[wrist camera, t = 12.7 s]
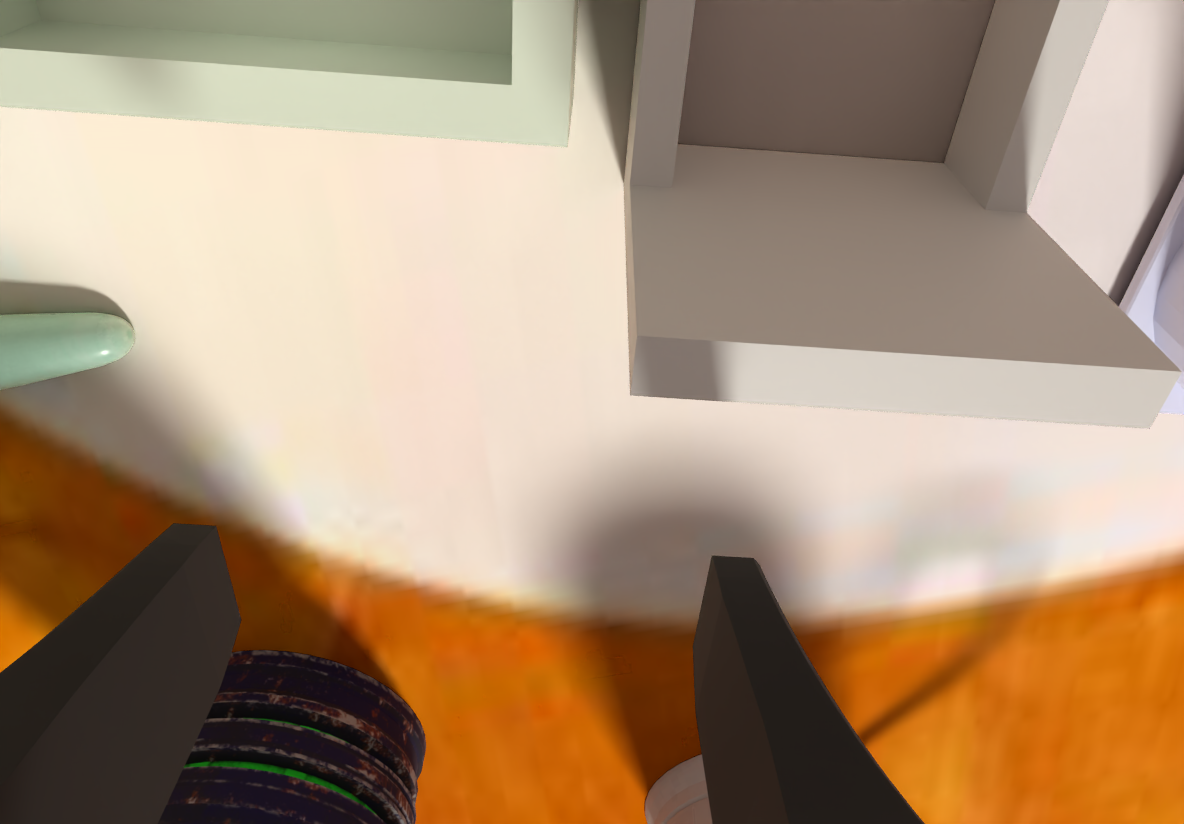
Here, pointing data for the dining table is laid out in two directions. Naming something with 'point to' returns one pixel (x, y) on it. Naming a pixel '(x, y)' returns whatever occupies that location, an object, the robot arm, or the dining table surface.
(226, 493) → the dining table surface
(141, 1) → the tray
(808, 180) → the dock
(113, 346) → the long green cone
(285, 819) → the storage jar
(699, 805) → the glass holder
